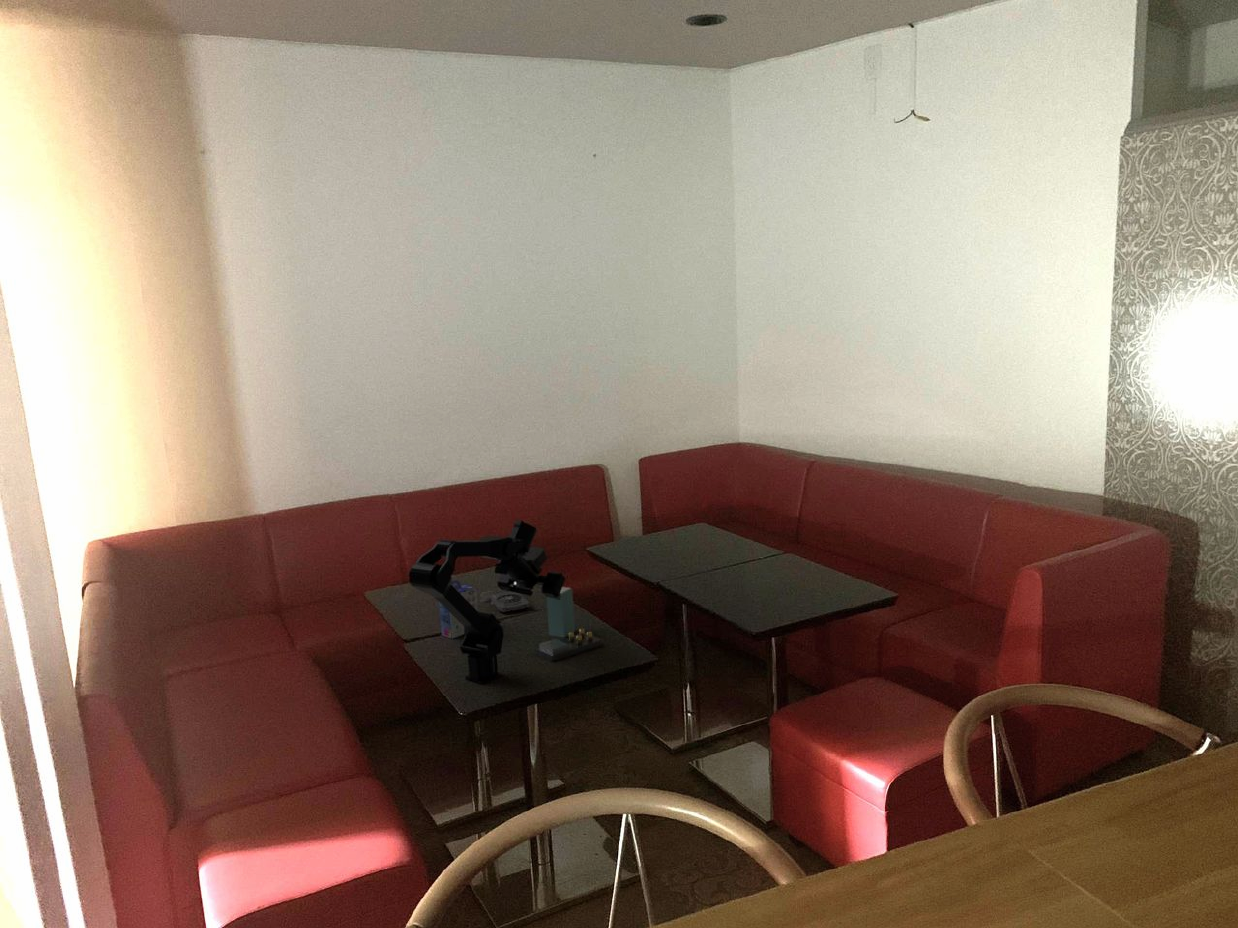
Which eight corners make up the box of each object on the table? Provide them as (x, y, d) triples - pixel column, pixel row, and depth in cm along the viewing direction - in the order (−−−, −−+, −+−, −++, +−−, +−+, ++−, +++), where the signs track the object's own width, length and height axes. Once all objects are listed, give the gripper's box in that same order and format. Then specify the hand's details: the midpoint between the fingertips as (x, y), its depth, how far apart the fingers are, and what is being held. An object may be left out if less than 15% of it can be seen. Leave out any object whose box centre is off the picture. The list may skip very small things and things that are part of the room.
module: (564, 637, 255) (561, 593, 253) (549, 634, 258) (546, 591, 256) (574, 631, 259) (571, 587, 257) (559, 629, 262) (556, 585, 260)
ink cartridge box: (468, 625, 269) (464, 576, 267) (480, 629, 265) (476, 579, 263) (439, 635, 262) (435, 584, 260) (452, 639, 258) (447, 588, 256)
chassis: (552, 661, 238) (551, 648, 237) (534, 653, 244) (533, 640, 244) (602, 644, 248) (601, 632, 247) (584, 637, 254) (583, 625, 253)
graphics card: (478, 592, 290) (516, 585, 294) (480, 603, 290) (517, 596, 295) (492, 608, 274) (532, 600, 279) (493, 620, 275) (533, 612, 279)
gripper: (558, 543, 239) (585, 573, 250) (500, 536, 249) (528, 566, 260) (542, 581, 234) (570, 611, 245) (483, 574, 243) (513, 602, 255)
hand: (545, 596), depth 251 cm, fingers open, 9 cm apart
